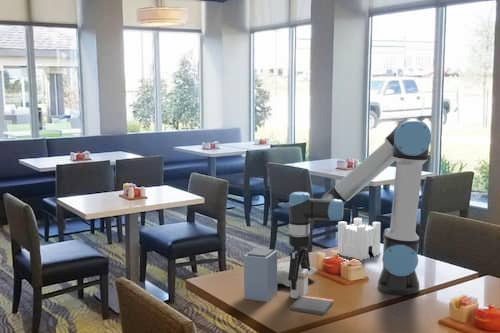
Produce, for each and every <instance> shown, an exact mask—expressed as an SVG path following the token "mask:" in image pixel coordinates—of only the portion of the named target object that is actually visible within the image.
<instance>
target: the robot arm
mask: <svg viewBox="0 0 500 333" xmlns="http://www.w3.org/2000/svg"><path fill="white" fill-rule="evenodd" d="M431 143H432V132H431V129H430V128H429V126H428V124H427V123H425V122H424V121H423V120H421V119H420V118H417V117H407V118H404V119H402V120H401V121H400V122H398V124H397V125H396V126H395V128H394V129H393V130H392V131H391V132H390V133H389V134H388V135H387V136H385V138H384V142H383V143H382V144H381V145H380V146H378V147H377V148H376V149H375V150H374V151H373V152H372V153H371V154H369V155H368V156H367V157H366V158H365V159H363V161H361V162H360V163H359V164H358V165H357V166H356V167H354V169H352V170H351V171H350V172H349V173H348V174H346V176H344V177H343V178H342V179H341V180H339V182H337V184H335V185H334V186H333V187H332V188H331V189H329V190H328V191H327V192H325V193H323V195H322V197H321V198H313V197H311V194H310V193H309V192H307V191H294V192H291V193H290V194H289V199H288V200H289V201H288V202H289V203H288V216H289V217H288V218H289V221H288V223H289V224H288V225H287V227H288V228H289V229H288V231H289V232H288V233H289V235H288V241H289V242H288V243H289V244H288V245H289V246H291V247H292V248H293V250H292V252H290V254H289V255H290V256H289V257H290V259H289V262H290V267H289V277H288V280H290V281H291V287H290V298H292V299H298V298H299V296H298V280H297V279H298V273H299V267H300V265H301V268H302V269H308V271H310V268H308V267H310V266H311V264H310V262H311V261H310V256H309V255H310V254H309V246H310V243H311V241H310V239H311V235H310V234H311V220H319V221H320V220H321V221H334V222H335V221H343V217H344V205H345V204H346V203H348V201H349V200H351V199H352V198H353V197H355V196H356V195H357V194H358V193H359V192H361V191H362V189H364V188H365V187H366V186H367V185H369V184H370V183H371V182H372V181H373V180H375V179H376V177H378V176H379V175H380V174H381V173H383V172H384V171H385V170H386V169H387V168H388V167H390V166H391V165H392V164H393V163H394V162H396V164H395V165H396V166H395V175H394V176H395V177H394V183H393V184H394V187H393V197H392V206H391V216H390V217H391V218H390V226H389V227H388V228H385V229H384V230H383V236H382V237H383V251H382V259H381V260H382V264H383V265H382V268H381V269H382V270H381V273H380V275H379V278H378V281H377V288H378V289H379V290H380V291H381V292H383V293H387V294H389V295H390V294H391V295H397V296H409V295H414V294H415V295H416V294H417V293H419V291H420V281H419V278H418V275H417V272H416V269H417V266H418V264H419V257H418V255H419V246H420V245H419V243H420V236H419V235H418V234H417V232H416V228H417V221H418V220H417V219H418V211H419V200H420V191H421V184H422V182H421V181H422V172H423V165H424V164H425V163H426V162H427V161H428V159H429V151H430V145H431ZM293 277H294V278H293Z"/></svg>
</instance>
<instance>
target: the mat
mask: <svg viewBox="0 0 500 333" xmlns="http://www.w3.org/2000/svg"><path fill="white" fill-rule="evenodd" d="M334 301H335V300H334V299H332V298H331V299H329V298H322V297H315V296H309V295H305V296H302V295H301V296H298V298H296V300H295V301H294V303H292V304H291V306H289V307H290V308H289V309H290V311H295V312H303V313H310V314H315V315H316V314H317V315H325V314H326V313H327V311H329V309H330V308H331V307H332V305H333V304H334Z"/></svg>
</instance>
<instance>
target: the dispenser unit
mask: <svg viewBox="0 0 500 333" xmlns="http://www.w3.org/2000/svg"><path fill="white" fill-rule="evenodd" d="M277 264H278V250H274V249H268V248H259V247H255V248H253V249H252V250H250V251H248V252H247V253H246V254H244V255H243V279H244V280H243V282H244V283H243V288H244V290H243V292H244V294H243V295H244V297H243V298H244V299H245V300H246V299H247V300H252V301H259V302H267V303H268V302H269V301H270V300H271V299H272V298H273V297H275V296H276V295H277V294H278V284H277Z"/></svg>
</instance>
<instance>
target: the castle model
mask: <svg viewBox="0 0 500 333" xmlns="http://www.w3.org/2000/svg"><path fill="white" fill-rule="evenodd" d="M371 224H372V225H368V224H364V223H363V219H362V218H361V217H354V218H353V223H351V224H348V222H347V221H343V220H340V221H338V222H337V251H338V252H339V253H340V256H344V257H346V256H348V257H347V258H350V257H354V258H358V259H361V260H360V261H364V260H363V259H365V260H367V258H368V259H370V254H369V251H371V254H373V256H374V257H377V256H376V255H378V256H380V255H379V254H381V255H382V252H381V226H382V224H381V222H380V221H373V222H372V223H371Z"/></svg>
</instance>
